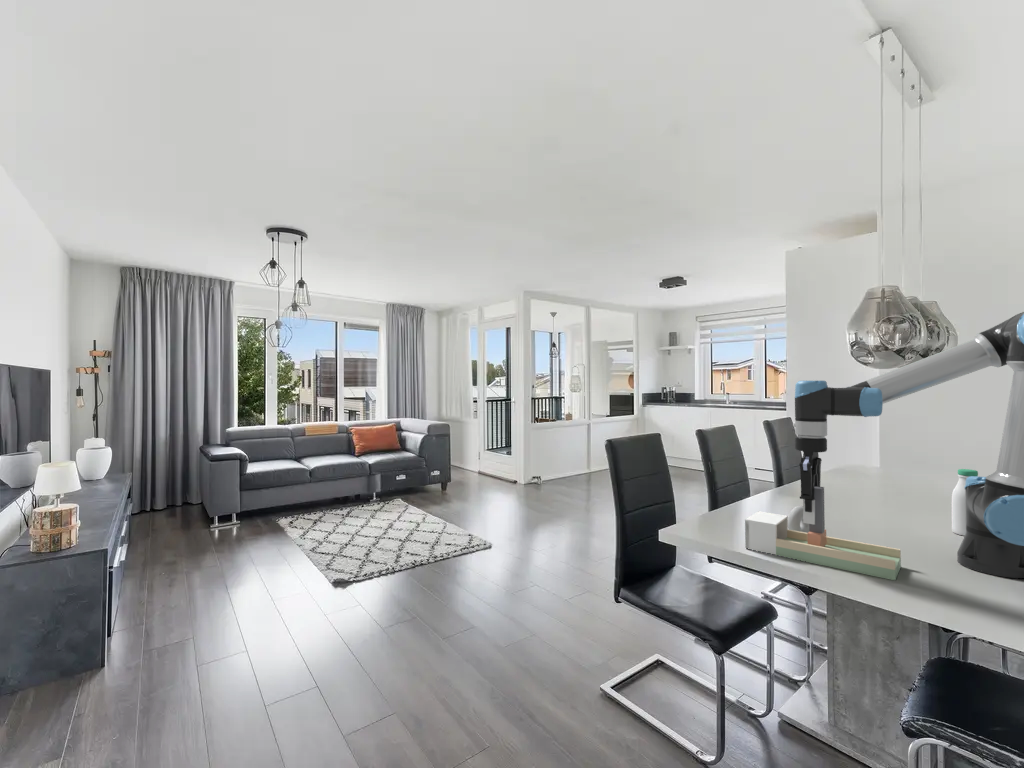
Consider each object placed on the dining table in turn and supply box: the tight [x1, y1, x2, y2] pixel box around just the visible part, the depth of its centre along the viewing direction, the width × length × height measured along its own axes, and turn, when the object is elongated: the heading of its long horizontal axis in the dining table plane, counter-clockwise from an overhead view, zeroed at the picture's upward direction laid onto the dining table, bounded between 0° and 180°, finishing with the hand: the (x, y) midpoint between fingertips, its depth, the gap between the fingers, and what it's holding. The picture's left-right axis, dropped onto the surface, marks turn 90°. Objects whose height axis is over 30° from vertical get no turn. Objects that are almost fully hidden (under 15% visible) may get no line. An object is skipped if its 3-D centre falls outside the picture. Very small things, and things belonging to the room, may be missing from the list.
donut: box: [788, 505, 809, 533], centre depth 150 cm, size 10×3×10 cm, turn 122°
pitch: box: [744, 510, 902, 581], centre depth 133 cm, size 34×12×8 cm, turn 46°
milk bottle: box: [951, 468, 979, 537], centre depth 152 cm, size 8×8×20 cm
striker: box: [808, 486, 827, 547], centre depth 134 cm, size 3×7×16 cm, turn 136°
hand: (810, 521), depth 135 cm, fingers closed on striker, 3 cm apart
